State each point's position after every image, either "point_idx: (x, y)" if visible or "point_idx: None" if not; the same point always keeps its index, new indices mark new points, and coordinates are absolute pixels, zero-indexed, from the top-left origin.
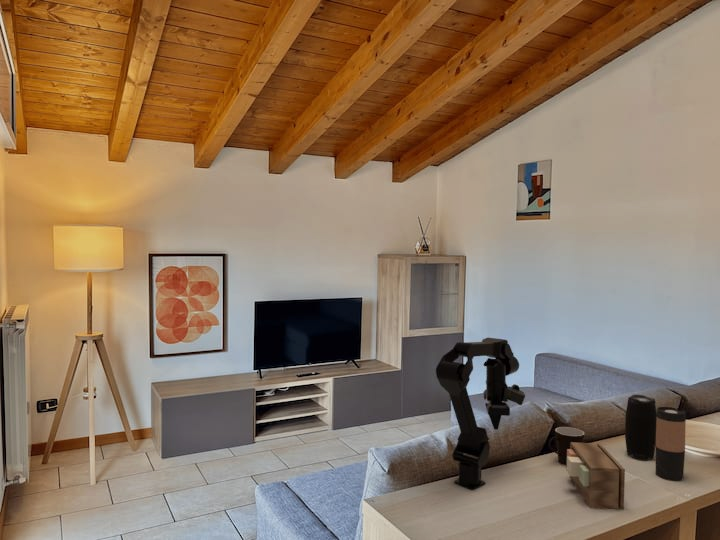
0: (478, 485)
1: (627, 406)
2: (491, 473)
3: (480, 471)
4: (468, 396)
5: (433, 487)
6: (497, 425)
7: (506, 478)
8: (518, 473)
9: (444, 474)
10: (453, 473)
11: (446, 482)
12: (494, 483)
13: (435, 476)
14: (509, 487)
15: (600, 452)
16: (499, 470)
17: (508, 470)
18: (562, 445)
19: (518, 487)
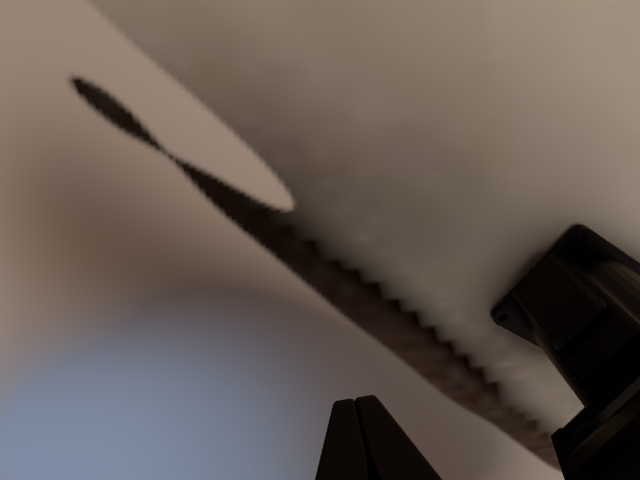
0: (630, 257)
1: None
2: (409, 199)
3: (601, 287)
4: None
5: None
6: (415, 459)
7: (478, 100)
8: (366, 5)
9: (466, 400)
10: (447, 371)
11: (558, 380)
12: (563, 173)
13: (494, 424)
14: (625, 76)
15: None
16: (345, 152)
17: (326, 88)
18: None
19: (628, 9)
